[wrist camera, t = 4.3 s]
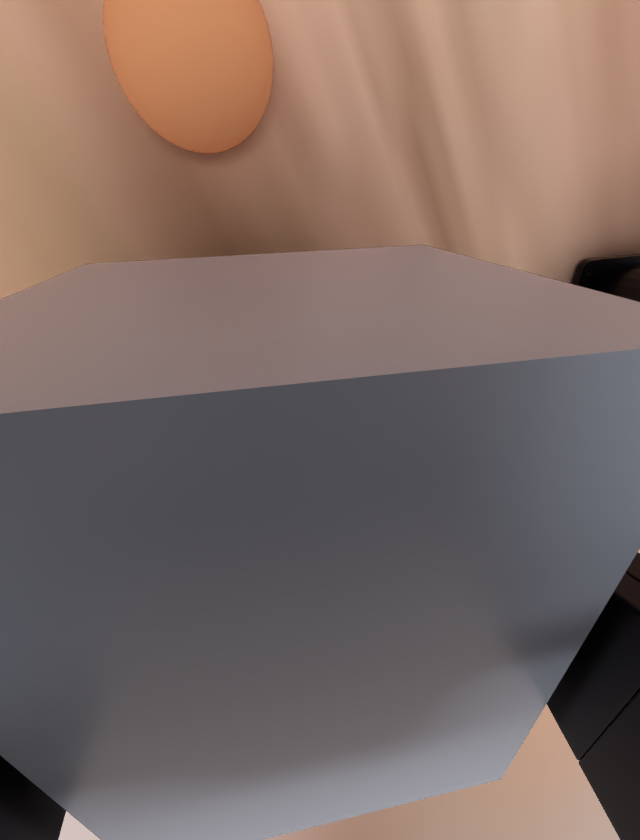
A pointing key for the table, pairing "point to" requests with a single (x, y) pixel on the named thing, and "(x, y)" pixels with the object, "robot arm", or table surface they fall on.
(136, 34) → the ball
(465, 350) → the grey rectangular block
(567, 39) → the table surface
